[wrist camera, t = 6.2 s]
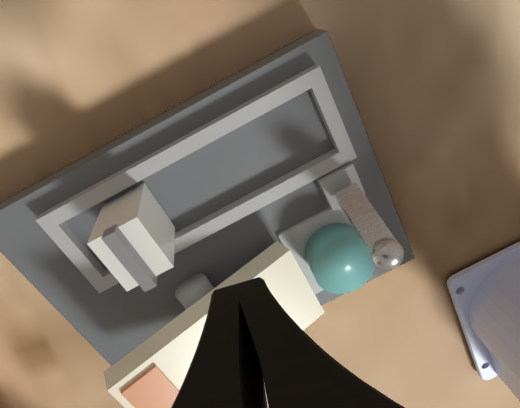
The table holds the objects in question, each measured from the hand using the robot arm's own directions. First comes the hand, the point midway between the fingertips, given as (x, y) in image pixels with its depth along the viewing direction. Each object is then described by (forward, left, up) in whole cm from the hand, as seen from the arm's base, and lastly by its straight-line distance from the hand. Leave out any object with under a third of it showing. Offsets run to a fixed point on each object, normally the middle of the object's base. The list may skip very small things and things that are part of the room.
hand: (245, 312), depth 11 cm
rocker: (-5, +3, -6) cm, 9 cm away
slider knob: (+1, +3, -8) cm, 9 cm away
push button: (-5, -3, -8) cm, 10 cm away
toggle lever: (-2, -5, -7) cm, 9 cm away
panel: (-2, +1, -9) cm, 10 cm away
